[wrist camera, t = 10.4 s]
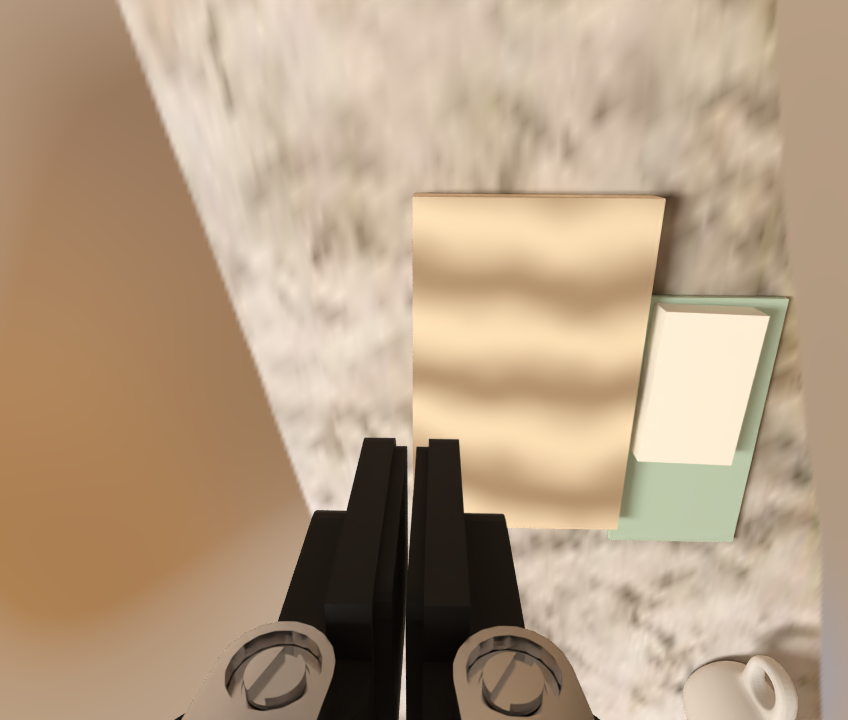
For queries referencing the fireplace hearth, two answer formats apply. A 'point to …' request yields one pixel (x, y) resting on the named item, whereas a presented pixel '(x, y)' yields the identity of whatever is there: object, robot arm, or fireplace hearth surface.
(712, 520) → the mat
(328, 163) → the fireplace hearth surface
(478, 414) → the wavy wooden board
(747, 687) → the cup
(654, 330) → the cream rectangular block
